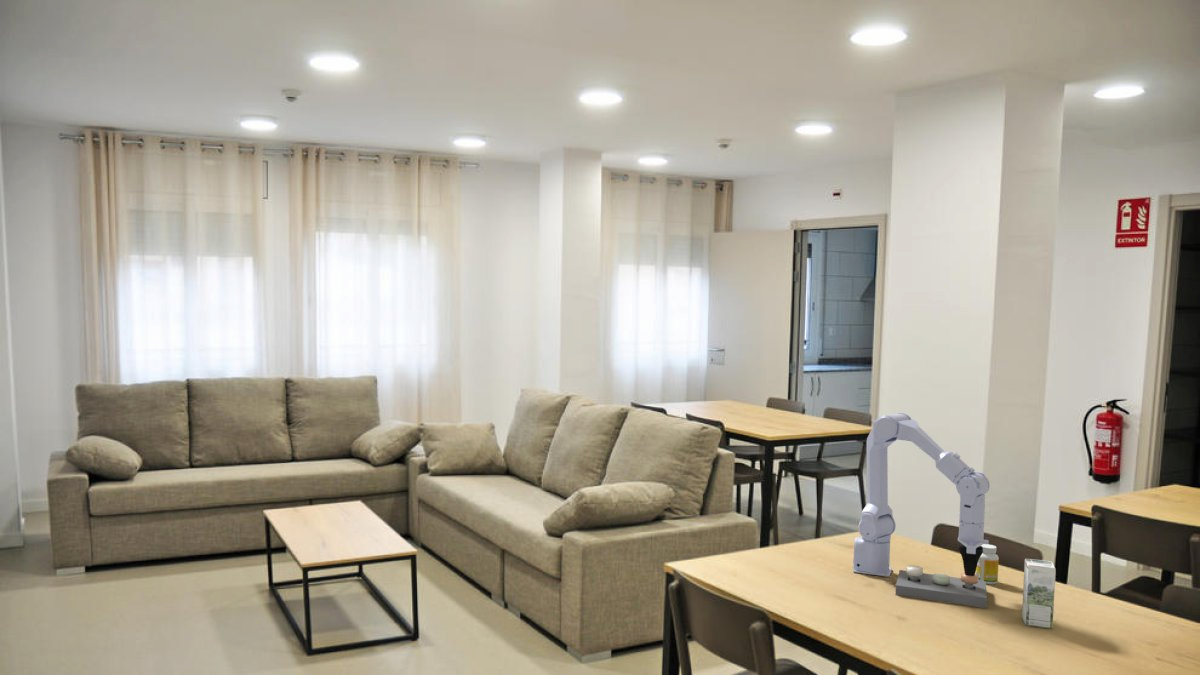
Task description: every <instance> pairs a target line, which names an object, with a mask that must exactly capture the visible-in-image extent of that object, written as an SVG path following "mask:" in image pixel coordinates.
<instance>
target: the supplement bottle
mask: <svg viewBox="0 0 1200 675" xmlns="http://www.w3.org/2000/svg"><path fill="white" fill-rule="evenodd" d="M981 546H982V547H983V553H982V555H981V556H980V558H979V560H978V563H977V568H976V572H975V574H976V575H978V581H985V582H986V585H996V584H998V582H999V581H998V580H999V561H1000V560H999V559H1000V558H999V555H998V554H996V553H997V546H996V545H993V544H990V543H988V544H983V545H981Z"/></svg>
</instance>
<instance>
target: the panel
mask: <svg viewBox="0 0 1200 675" xmlns="http://www.w3.org/2000/svg"><path fill="white" fill-rule="evenodd" d="M933 574H934V573H933ZM933 574H932V573H925V572H923V575H922V576H918V582H915V581H910V575H908V574H906V570H902V569H899V571H898V575H897V579H896V583H895V596H899V595H900V597H907V598H913V599H920V600H921V599H922V600H927V601H934V602H940V601H942V602H941V603H947V602H949V603H948V604H954V603H957V604H956V605H961V604H963V605H962V606H968V607H973V608H976V607H977V608H982V609H987V608H988V592H987V584H986V582H985V581H978V583H977V584H974V585H973V589H966V588H965V583H964V582H962V581H961V577H953V576H950V584H948V585H945V586H944V585H937V583H934V582H933Z"/></svg>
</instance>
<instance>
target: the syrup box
mask: <svg viewBox="0 0 1200 675" xmlns="http://www.w3.org/2000/svg"><path fill="white" fill-rule="evenodd" d="M1023 570H1024V571H1023V588H1022V590H1023V591H1022V593H1023V594H1022V610H1021V618H1022V620H1023V623H1024V624H1025V626H1027V627H1033V628H1034V627H1035V628H1043V629H1047V630H1048V629H1049V630H1053V626H1054V606H1055V589H1056V576H1057V575H1056V574H1057V573H1056V570H1057V569H1056V567H1055V565H1054V563H1053V561H1051V560H1044V559H1033V558H1024V566H1023Z"/></svg>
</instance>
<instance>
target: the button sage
mask: <svg viewBox="0 0 1200 675" xmlns="http://www.w3.org/2000/svg"><path fill="white" fill-rule="evenodd" d="M950 577H951V576H950V575H948V574H945V573H933V582H934V583H937V585H944V586H945V585H948V584H950Z"/></svg>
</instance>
